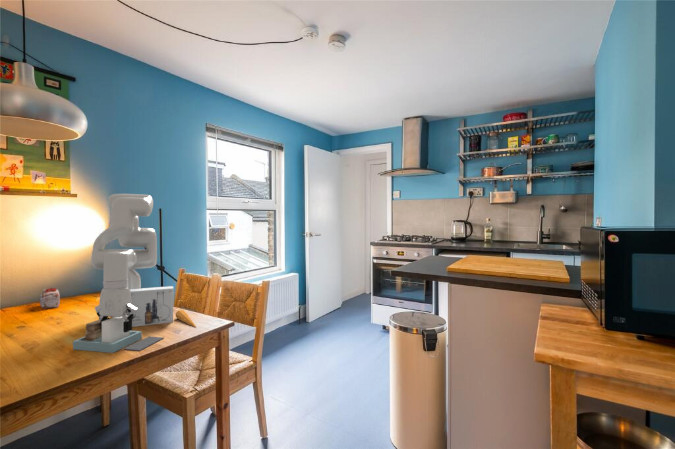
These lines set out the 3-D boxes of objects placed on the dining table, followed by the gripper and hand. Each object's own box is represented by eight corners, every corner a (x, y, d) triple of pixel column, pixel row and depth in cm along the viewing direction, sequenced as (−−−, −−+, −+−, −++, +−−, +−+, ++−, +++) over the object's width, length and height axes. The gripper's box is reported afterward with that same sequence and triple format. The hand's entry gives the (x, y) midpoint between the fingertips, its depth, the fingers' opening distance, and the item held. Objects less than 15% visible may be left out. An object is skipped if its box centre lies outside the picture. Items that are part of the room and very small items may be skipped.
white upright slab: (101, 349, 113) (101, 321, 113) (122, 339, 122) (122, 314, 122) (109, 349, 113) (109, 322, 113) (129, 340, 122) (129, 314, 122)
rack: (72, 349, 113) (72, 341, 113) (105, 336, 126) (105, 328, 126) (112, 352, 110) (112, 344, 110) (141, 339, 123) (141, 331, 123)
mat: (123, 349, 113) (123, 348, 113) (149, 337, 125) (149, 336, 125) (139, 351, 112) (139, 350, 112) (163, 338, 124) (163, 337, 124)
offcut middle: (85, 339, 115) (85, 331, 115) (101, 332, 123) (101, 324, 123) (95, 340, 115) (95, 332, 115) (111, 332, 123) (111, 325, 122)
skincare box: (117, 329, 134) (117, 292, 133) (119, 325, 138) (119, 289, 138) (173, 322, 143) (173, 287, 143) (173, 319, 148) (173, 285, 148)
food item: (60, 307, 165) (60, 289, 165) (40, 310, 160) (39, 291, 160) (59, 302, 175) (59, 285, 175) (39, 305, 170) (39, 287, 169)
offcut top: (85, 330, 116) (85, 324, 116) (100, 325, 122) (100, 319, 122) (94, 331, 116) (94, 324, 116) (108, 326, 122) (108, 319, 122)
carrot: (176, 319, 150) (172, 312, 148) (185, 314, 152) (182, 306, 151) (193, 334, 136) (189, 326, 134) (203, 328, 139) (199, 320, 137)
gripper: (86, 285, 115) (86, 332, 115) (128, 287, 112) (128, 335, 112) (105, 281, 122) (105, 325, 123) (144, 283, 119) (144, 328, 120)
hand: (116, 330), depth 117 cm, fingers open, 9 cm apart
